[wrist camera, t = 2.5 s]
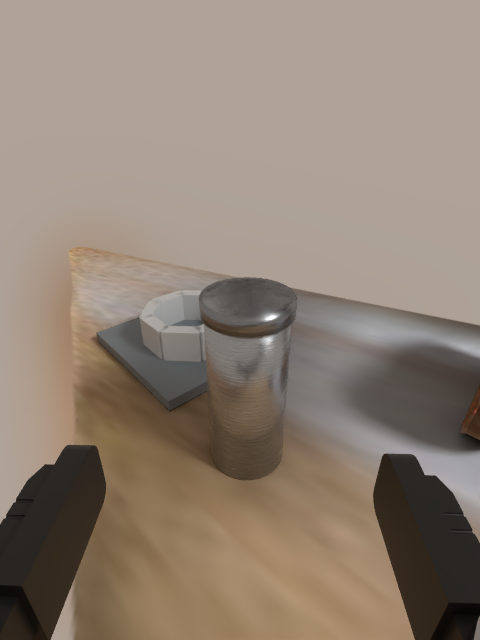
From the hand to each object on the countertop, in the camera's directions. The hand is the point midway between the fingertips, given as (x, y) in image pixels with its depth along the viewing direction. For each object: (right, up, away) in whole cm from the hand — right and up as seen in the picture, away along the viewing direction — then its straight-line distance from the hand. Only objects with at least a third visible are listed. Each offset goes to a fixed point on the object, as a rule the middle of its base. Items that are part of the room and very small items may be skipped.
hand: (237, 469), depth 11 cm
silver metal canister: (+1, -5, +16) cm, 17 cm away
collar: (-5, +2, +28) cm, 29 cm away
